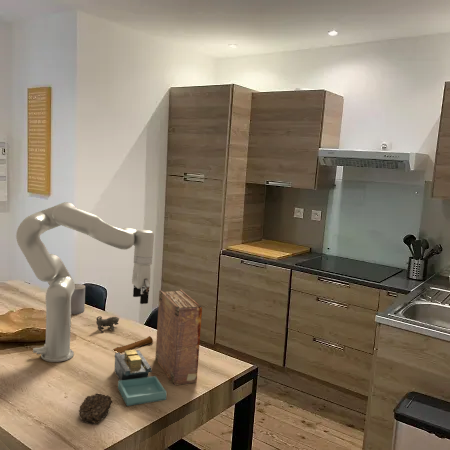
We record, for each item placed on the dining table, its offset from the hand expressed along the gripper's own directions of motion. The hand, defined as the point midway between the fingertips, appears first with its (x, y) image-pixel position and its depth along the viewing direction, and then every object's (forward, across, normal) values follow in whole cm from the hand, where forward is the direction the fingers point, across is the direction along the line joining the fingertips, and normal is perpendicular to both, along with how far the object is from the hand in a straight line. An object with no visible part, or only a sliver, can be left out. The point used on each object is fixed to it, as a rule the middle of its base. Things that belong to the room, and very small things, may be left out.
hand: (140, 300), depth 196 cm
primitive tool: (+26, -10, +2) cm, 27 cm away
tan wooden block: (+19, +21, -8) cm, 29 cm away
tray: (+25, +32, -8) cm, 41 cm away
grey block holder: (+25, +18, -7) cm, 31 cm away
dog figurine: (+25, -34, -4) cm, 43 cm away
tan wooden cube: (+19, +15, -7) cm, 25 cm away
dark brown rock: (+25, +39, -26) cm, 53 cm away
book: (+25, +17, +11) cm, 32 cm away
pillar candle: (+26, -66, -13) cm, 72 cm away
